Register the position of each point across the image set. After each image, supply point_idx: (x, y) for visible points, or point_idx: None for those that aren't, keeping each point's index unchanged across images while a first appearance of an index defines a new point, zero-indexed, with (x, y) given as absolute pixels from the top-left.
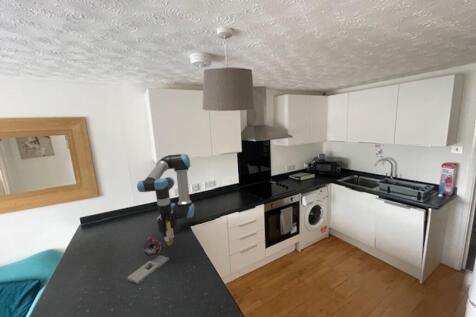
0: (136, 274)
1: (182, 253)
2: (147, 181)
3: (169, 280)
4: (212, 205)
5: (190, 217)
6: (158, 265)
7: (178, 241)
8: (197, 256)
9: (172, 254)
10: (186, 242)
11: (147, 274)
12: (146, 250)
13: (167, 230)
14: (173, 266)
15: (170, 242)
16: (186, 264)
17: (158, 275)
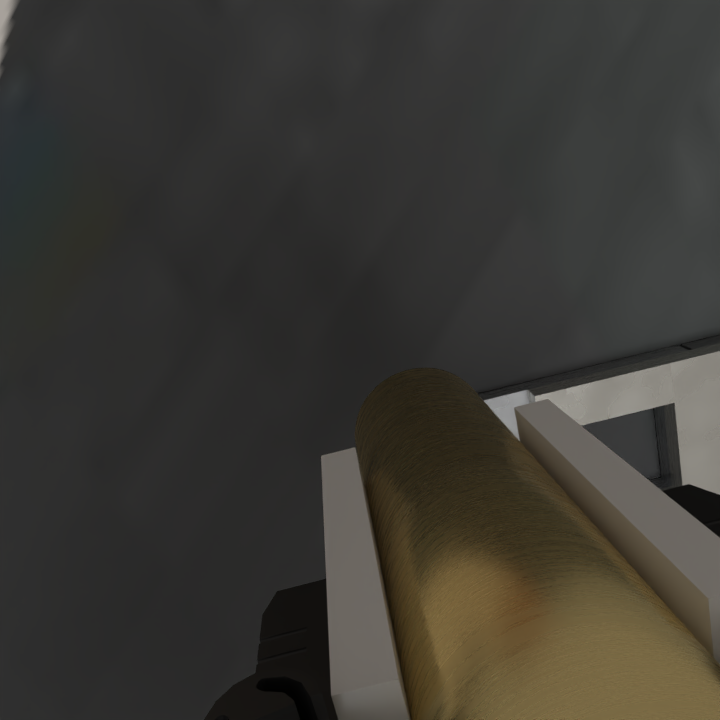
0: None
1: (188, 382)
2: None
3: (612, 35)
4: None
5: None
6: (552, 389)
7: (71, 667)
8: (79, 121)
9: (287, 477)
10: (2, 560)
11: (717, 347)
12: None
13: (697, 648)
14: (423, 240)
15: (458, 387)
16: (294, 112)
17: (624, 252)
